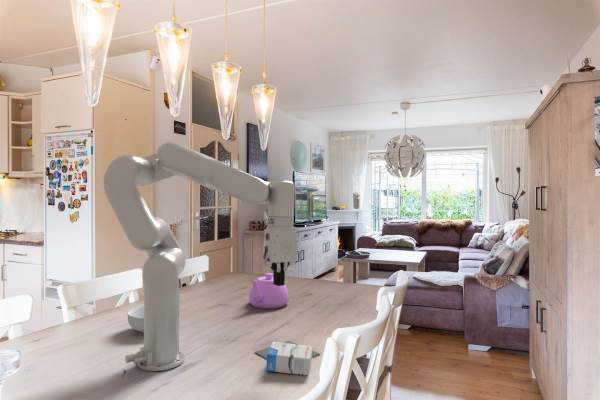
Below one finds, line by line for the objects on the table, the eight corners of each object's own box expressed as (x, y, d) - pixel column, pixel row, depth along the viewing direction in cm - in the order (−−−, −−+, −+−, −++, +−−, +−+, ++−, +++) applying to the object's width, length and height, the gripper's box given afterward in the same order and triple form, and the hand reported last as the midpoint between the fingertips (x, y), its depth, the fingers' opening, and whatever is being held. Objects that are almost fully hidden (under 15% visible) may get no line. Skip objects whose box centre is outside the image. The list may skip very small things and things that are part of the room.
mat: (284, 368, 107) (284, 366, 107) (254, 352, 118) (254, 351, 118) (319, 354, 117) (319, 353, 117) (289, 341, 127) (289, 340, 127)
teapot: (265, 296, 187) (266, 267, 187) (298, 301, 179) (298, 271, 179) (234, 308, 165) (234, 276, 164) (269, 315, 156) (269, 281, 156)
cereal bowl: (123, 340, 127) (123, 319, 127) (131, 324, 143) (131, 305, 143) (177, 336, 131) (178, 315, 131) (179, 321, 147) (179, 302, 147)
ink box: (265, 371, 104) (308, 376, 103) (266, 353, 104) (310, 358, 103) (271, 357, 113) (312, 362, 111) (272, 340, 112) (313, 345, 111)
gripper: (268, 224, 106) (266, 290, 106) (307, 223, 116) (305, 284, 116) (252, 222, 111) (250, 285, 111) (291, 221, 122) (289, 279, 122)
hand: (278, 284), depth 114 cm, fingers closed
